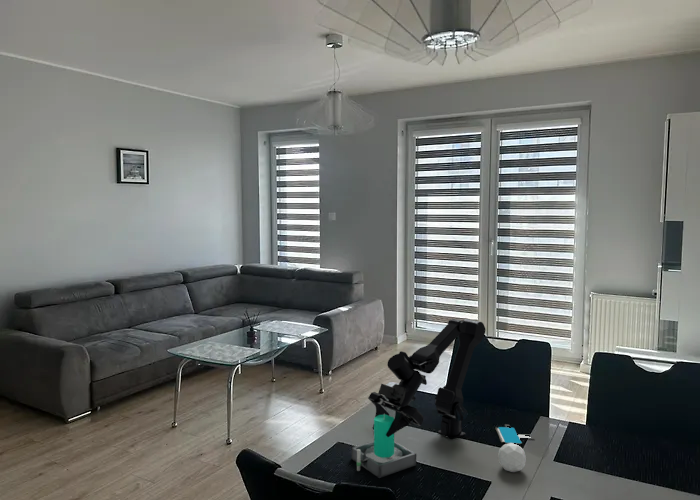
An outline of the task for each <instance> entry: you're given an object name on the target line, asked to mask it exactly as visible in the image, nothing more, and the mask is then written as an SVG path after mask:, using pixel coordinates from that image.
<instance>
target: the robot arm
mask: <svg viewBox="0 0 700 500" xmlns="http://www.w3.org/2000/svg"><path fill="white" fill-rule="evenodd" d="M485 334H486V326H485V324H484V323H483V322H482V321H480V320H479V321H478V320H475V319H468V318H465V319H462V320H461V319H456V318H452V319H449V320H448V322H447V324H446V325H445V327H444V328H442V330H441V331H440V332H439V333H438V334H437V335H436V336H435V337H434V338H433V339H432V341H431V342H430V343H428V344H427V345H425V346H422V347H419V348H418V349H417V350H415V351H414V352H413V353H412V355H409V356H408V354H407V352H405V351H402V350H400V351H399V353H396V354H394V355H393V356H391V357H390V358H389V359H388V361H387V365H386V366H387V368H388V369H389V370H390V371H391V372H392V374H394V377H396V378H397V379H398V380H400V382H398V383H399V384H398V385H397V384H395V385H394V386H393V387H390V386H387V385H386V384H385V383H381V384H380V388H378V389H379V390H378V392H375V391H373V392H370V394H369V396H367V399H368V400H369V401H370V402H371V403H372V405H374V406H375V416H374V418H375V417H376V416H378V415H384V414H386V415H388V416H389V413H388V412H387V408H389V409H391V410H394V411H396V412H395V419H394V421H393V422H392V424H391V426H390V428H389V430H388V431H387V434H386V436H387V437H389V436H391V435H392V434H394V435H395V433H398V432H399V431H400V430H402V429H403V428H405V427H407V426H412V425H413V424H414V425H417V426H419V427H421V426H422V424H423V422H424V415H423V414H422V413H421V412H420V411H419V410H418V409H417V407H414V406H411V405H410V404H411V402H412V401H413V402H415V400H416V399H417V398H416V397H415V395H416V393H417V392H418V390H419V388H420V387H421V384H422V385H424V386H426V385H427V384H428V383H427V377H426V375H424V374H432V373H433V372H434V371H435V369H436V368H437V366H438V365H439V363H440V358H441V356H442V354H443V353H444V352H445V351H446V350H447V349H448V347H450V346H451V344H452V343H453V342H454V341H455V340H456V339H457V338H458V341H459V344H458V348H457V352H456V353H455V357H454V360H453V363H452V367H451V369H450V373H449V375H448V380H447V382H446V384H445V385H444V386H443V387H438V389H437V393H436V396H435V397H434V400H435V401H434V404H435V408H436V411H437V412H436V413H437V414H438V415H441V421H440V430H438V431H437V433H438V434H440V435H442V436H444V437H446V438H449V439H450V440H453V439H456V438H460V437H463V436H465V435H466V432H463V431H462V429H463V427H462V425H463V421H465V419H467V416H468V412H469V411H468V410H467V409H466V408H465V407H464V406H463V404H464V396H463V391H462V390H463V389H462V388H463V384H464V383H465V379H466V375H467V373H468V370H469V366H470V363H471V360H472V356H473V354H474V353H473V352H474V350H475V348H476V347H477V346H478V345H480V343H481V342H482V340H483V338H484V336H485ZM421 372H422V373H424V374H422V373H421ZM383 395H384V396H385V397H386V399H388V400H389V401H387V400H386V399H385V398H384V397H383ZM392 406H393V407H392ZM372 430H373V431H374V423H373V425H372Z"/></svg>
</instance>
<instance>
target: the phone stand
mask: <svg viewBox="0 0 700 500" xmlns="http://www.w3.org/2000/svg"><path fill="white" fill-rule="evenodd" d="M507 426H510V424H506V423H505V424H504V426H498V427H497V426H495V427H494V428H495V430H496V433H497V435H498V437H499V441H500V442H501V443H505V444H508V443H516V444H519V445H521V444H523V442H522V441H521V440H520V438H531V437H529V436H525V435H526V434H518V433H517V431H516V429H515V427H511V426H510V427H511V428H509V427H507ZM517 434H518V435H517Z"/></svg>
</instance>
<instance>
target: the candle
mask: <svg viewBox="0 0 700 500" xmlns="http://www.w3.org/2000/svg"><path fill="white" fill-rule="evenodd" d="M393 421H394V417H391V416H388V415H386V414H384V415H378V416H376V417H375V416H374V417H373V424H374V430H373V441H374V454H375V455H377V456H378V457H390V456H393V454H394V441H395V433H394V434H392V435H391V436H389V437H387V436H386V434H387V431H388V430H389V428H390V426H391V424H392V422H393Z"/></svg>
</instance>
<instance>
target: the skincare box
mask: <svg viewBox="0 0 700 500" xmlns="http://www.w3.org/2000/svg"><path fill="white" fill-rule="evenodd" d="M399 383H400V382H393V381H389V382H388V383H386V384H385V385H387V386H390V387H393V386H394V385H395V384H397V385H398V384H399ZM382 396H383V397H384V398H385V399H386V397H385V396H384V395H382ZM386 400H387V401H389V400H388V399H386ZM392 407H393V406H392ZM387 412H388V413H389V416H391V417H394V419H395V412H396V411H394V410H391V409H389V408H387Z"/></svg>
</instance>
